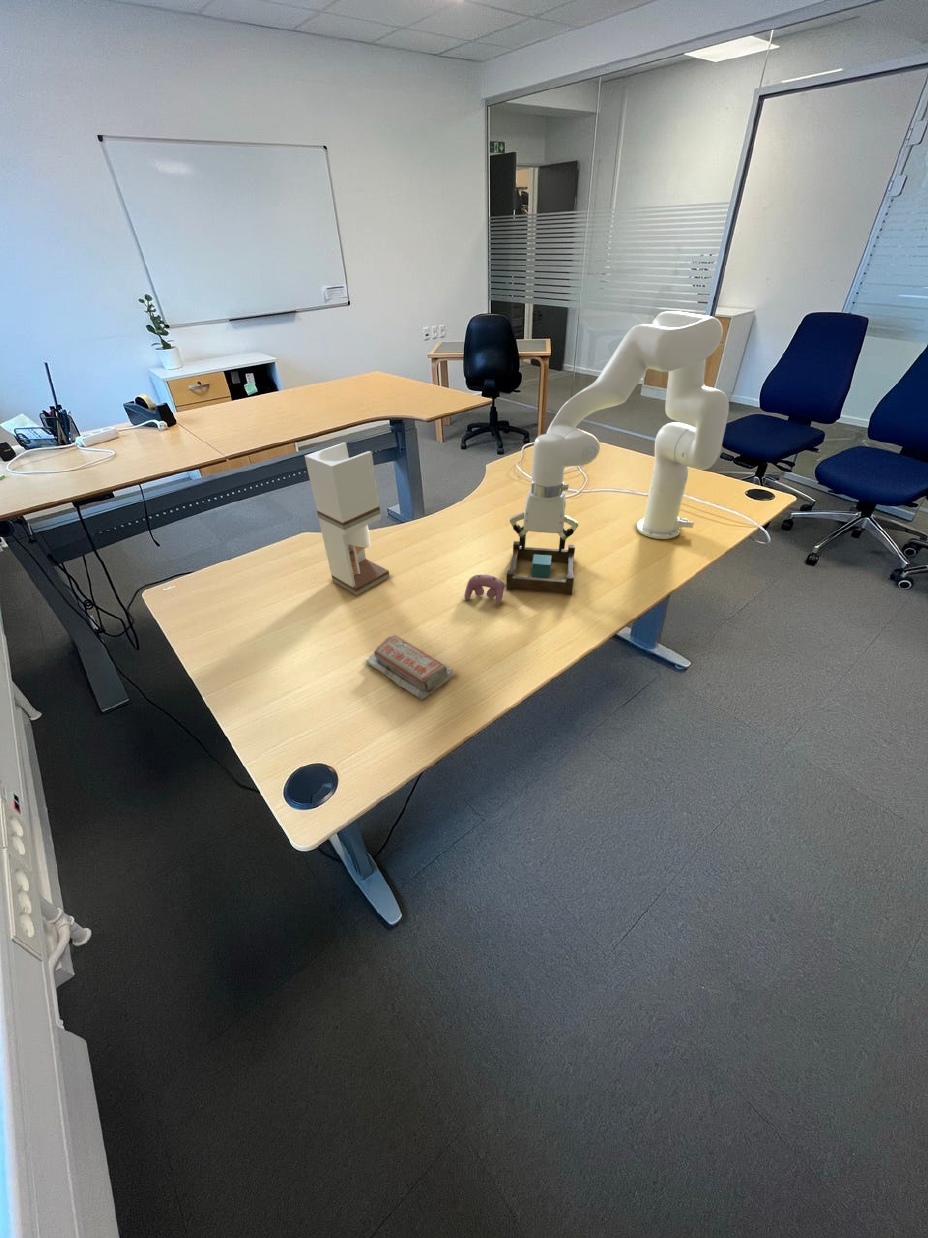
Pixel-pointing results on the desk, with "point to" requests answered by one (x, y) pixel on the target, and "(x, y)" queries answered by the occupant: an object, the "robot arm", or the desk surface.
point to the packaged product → (409, 667)
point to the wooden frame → (541, 583)
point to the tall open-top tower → (346, 514)
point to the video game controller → (486, 581)
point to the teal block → (541, 566)
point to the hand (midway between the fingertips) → (541, 549)
